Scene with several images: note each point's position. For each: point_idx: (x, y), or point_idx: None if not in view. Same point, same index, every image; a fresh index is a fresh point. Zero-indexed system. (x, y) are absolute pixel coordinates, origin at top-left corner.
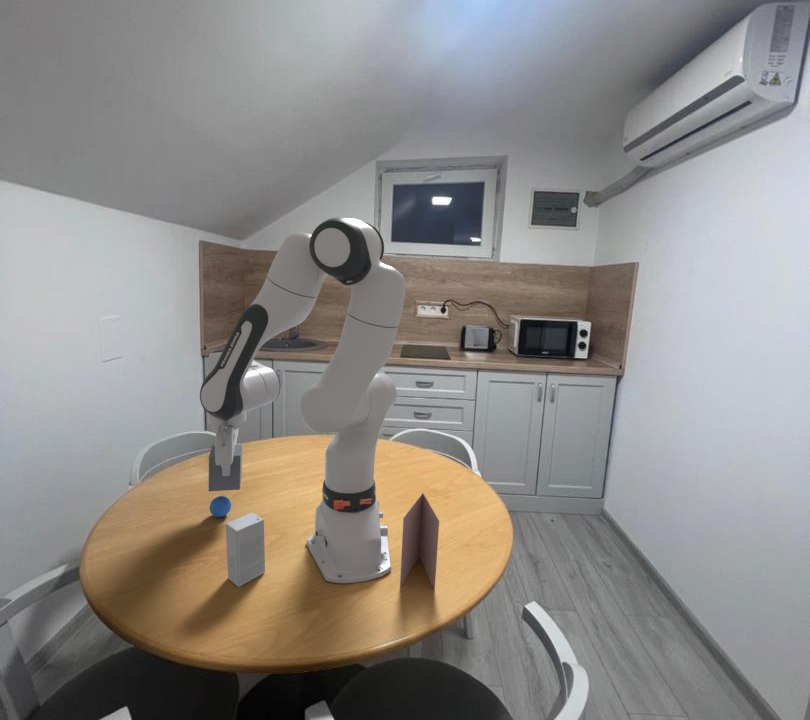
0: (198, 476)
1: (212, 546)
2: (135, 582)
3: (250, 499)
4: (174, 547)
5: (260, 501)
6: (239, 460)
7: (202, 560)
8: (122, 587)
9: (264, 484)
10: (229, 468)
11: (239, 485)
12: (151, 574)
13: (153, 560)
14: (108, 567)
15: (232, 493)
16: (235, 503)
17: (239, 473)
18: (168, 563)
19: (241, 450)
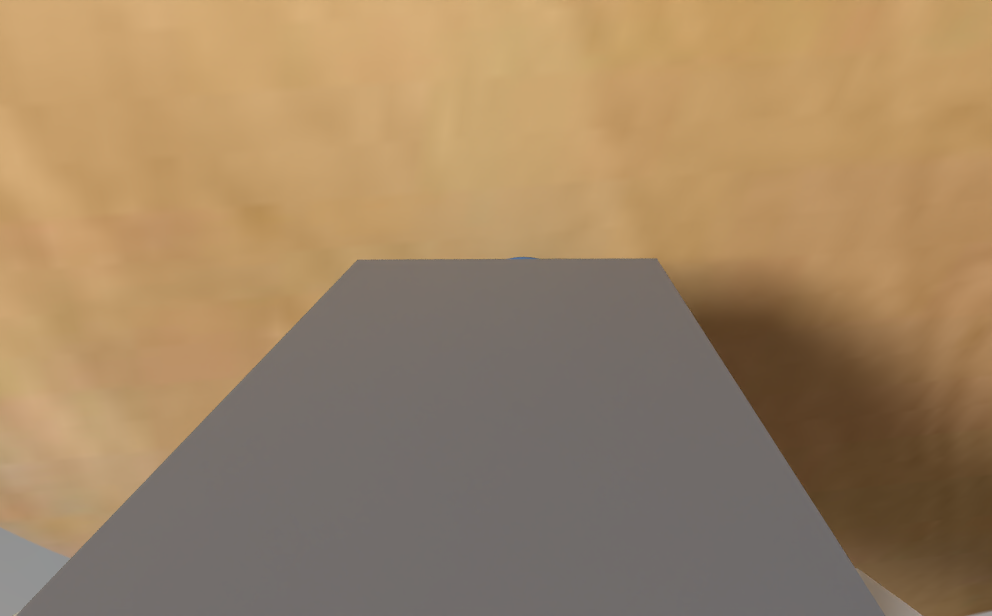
0: (68, 433)
1: (852, 307)
2: (972, 537)
3: (333, 129)
4: None
5: (367, 49)
6: (826, 544)
7: (967, 339)
8: (978, 563)
9: (89, 30)
10: (874, 587)
11: (666, 280)
12: (949, 501)
13: (841, 507)
14: None
15: (250, 252)
16: (383, 224)
17: (715, 359)
18: (900, 460)
19: (414, 610)
